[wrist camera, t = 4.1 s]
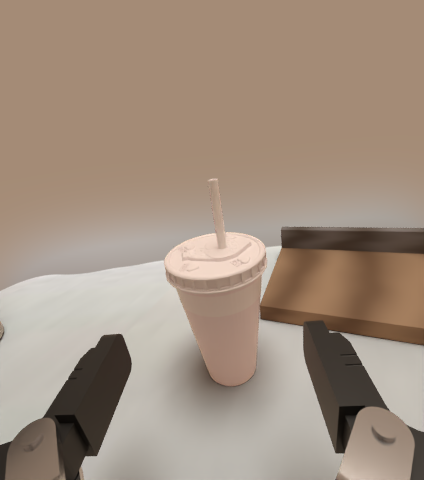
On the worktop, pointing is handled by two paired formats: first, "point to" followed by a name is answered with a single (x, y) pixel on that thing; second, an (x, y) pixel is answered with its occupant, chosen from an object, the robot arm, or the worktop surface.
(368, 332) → the shelf board
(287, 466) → the worktop surface
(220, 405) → the worktop surface
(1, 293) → the worktop surface
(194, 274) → the smoothie
